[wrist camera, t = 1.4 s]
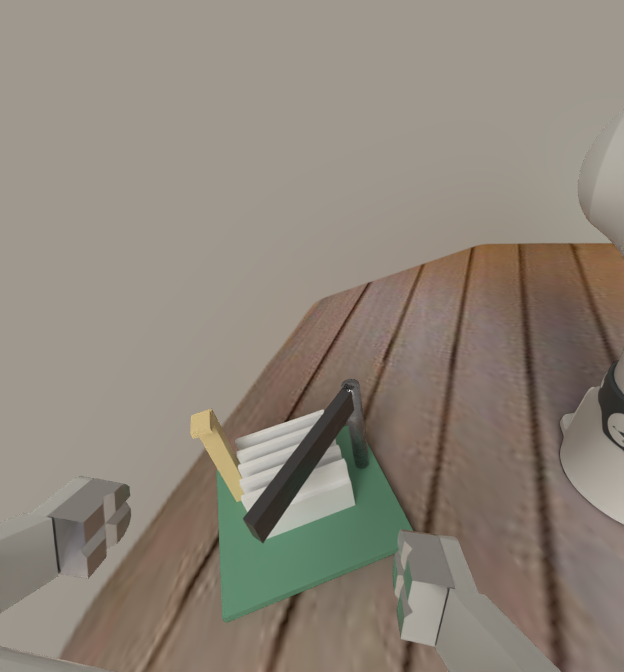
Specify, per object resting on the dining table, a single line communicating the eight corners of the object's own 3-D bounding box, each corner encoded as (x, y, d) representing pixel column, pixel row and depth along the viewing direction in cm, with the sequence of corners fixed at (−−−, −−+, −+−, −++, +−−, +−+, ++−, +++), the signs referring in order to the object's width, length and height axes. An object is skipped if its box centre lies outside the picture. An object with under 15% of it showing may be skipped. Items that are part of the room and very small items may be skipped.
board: (357, 426, 52) (344, 338, 42) (417, 544, 37) (419, 450, 28) (219, 475, 49) (171, 392, 40) (226, 622, 35) (153, 549, 25)
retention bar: (358, 453, 46) (347, 377, 38) (371, 459, 45) (362, 381, 37) (279, 584, 35) (239, 516, 27) (294, 596, 34) (257, 529, 26)
